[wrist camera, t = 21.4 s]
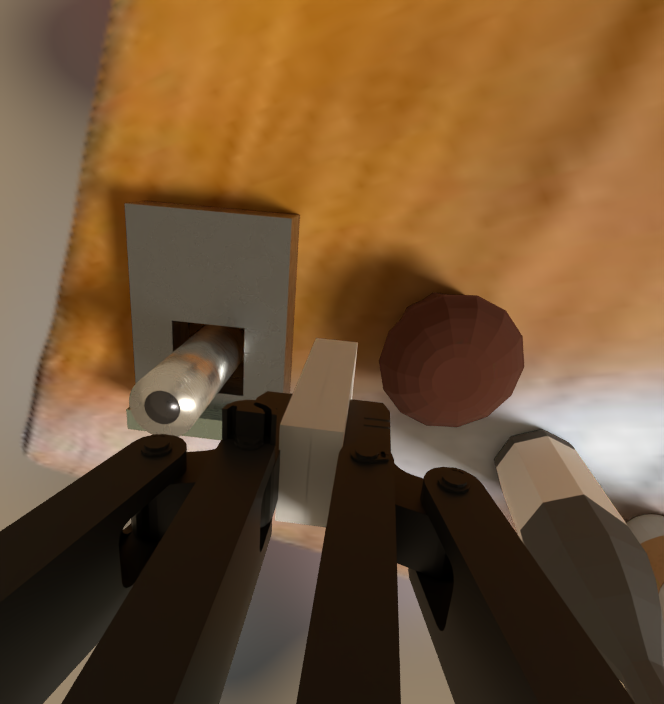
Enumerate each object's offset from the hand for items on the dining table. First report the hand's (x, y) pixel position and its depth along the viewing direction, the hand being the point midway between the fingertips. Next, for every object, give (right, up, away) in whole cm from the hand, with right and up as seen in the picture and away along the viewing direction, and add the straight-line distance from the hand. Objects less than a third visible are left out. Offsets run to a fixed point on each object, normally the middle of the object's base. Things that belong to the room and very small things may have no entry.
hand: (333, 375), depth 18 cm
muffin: (+10, +2, +29) cm, 31 cm away
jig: (-11, +4, +30) cm, 32 cm away
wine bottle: (+20, -10, +32) cm, 39 cm away
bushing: (-11, +2, +31) cm, 33 cm away
